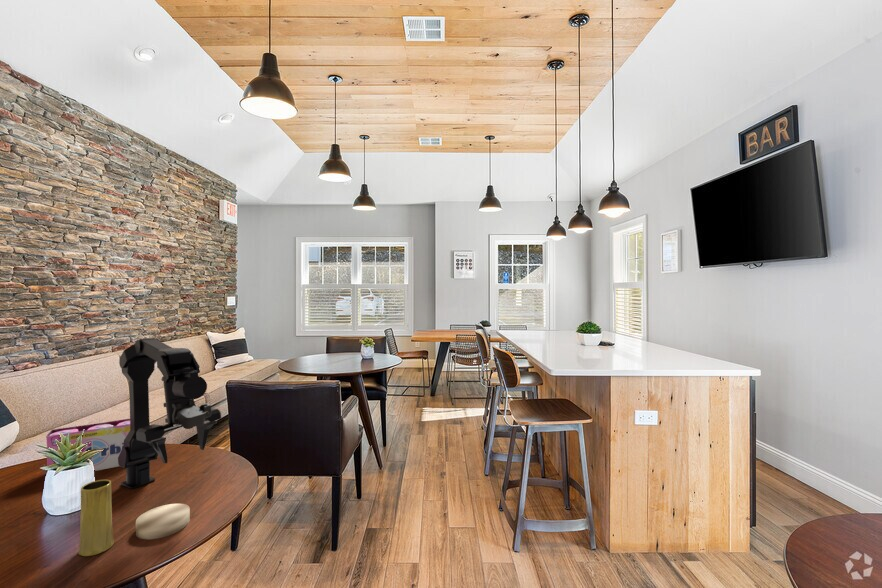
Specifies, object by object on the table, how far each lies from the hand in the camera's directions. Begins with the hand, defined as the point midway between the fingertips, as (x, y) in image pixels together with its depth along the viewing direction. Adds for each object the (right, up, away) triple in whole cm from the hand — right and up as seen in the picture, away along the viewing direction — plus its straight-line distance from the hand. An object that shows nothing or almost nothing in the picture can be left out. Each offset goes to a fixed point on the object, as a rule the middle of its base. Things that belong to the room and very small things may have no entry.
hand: (184, 456), depth 109 cm
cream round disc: (0, -14, -8) cm, 16 cm away
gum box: (-46, -14, +27) cm, 55 cm away
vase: (-10, -14, -16) cm, 24 cm away
